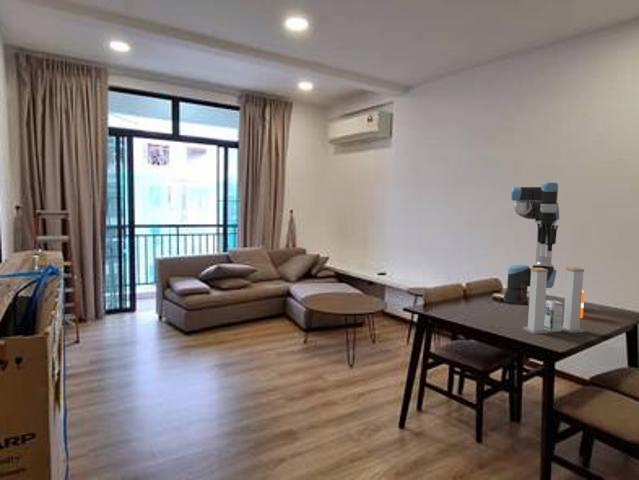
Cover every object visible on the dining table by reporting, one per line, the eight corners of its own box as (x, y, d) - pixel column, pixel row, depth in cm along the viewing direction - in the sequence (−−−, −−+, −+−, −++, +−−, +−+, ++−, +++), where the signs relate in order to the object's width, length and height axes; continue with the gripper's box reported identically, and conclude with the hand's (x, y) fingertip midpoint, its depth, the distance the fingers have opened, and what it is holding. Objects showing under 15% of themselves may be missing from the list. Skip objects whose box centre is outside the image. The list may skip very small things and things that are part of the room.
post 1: (532, 333, 203) (536, 270, 200) (523, 328, 211) (526, 267, 208) (548, 333, 204) (552, 270, 201) (537, 328, 211) (541, 267, 208)
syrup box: (543, 328, 211) (545, 300, 210) (554, 328, 212) (556, 300, 210) (550, 332, 205) (552, 303, 204) (561, 331, 206) (563, 302, 205)
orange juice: (581, 314, 238) (584, 280, 236) (582, 318, 230) (585, 282, 228) (565, 313, 241) (568, 278, 239) (566, 316, 233) (568, 281, 232)
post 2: (569, 332, 205) (573, 269, 202) (558, 327, 213) (562, 267, 210) (584, 332, 206) (588, 269, 203) (572, 327, 214) (576, 267, 211)
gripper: (531, 211, 228) (529, 254, 230) (552, 212, 211) (549, 258, 213) (544, 211, 229) (541, 254, 231) (565, 212, 212) (562, 258, 214)
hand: (545, 256), depth 222 cm, fingers open, 4 cm apart
